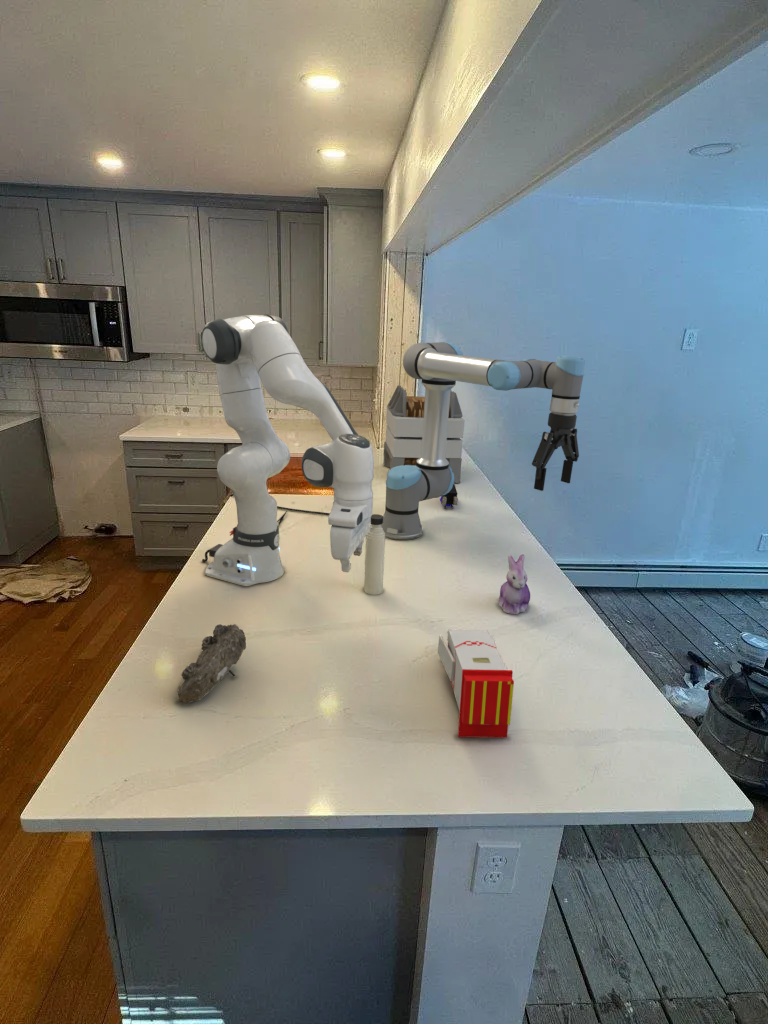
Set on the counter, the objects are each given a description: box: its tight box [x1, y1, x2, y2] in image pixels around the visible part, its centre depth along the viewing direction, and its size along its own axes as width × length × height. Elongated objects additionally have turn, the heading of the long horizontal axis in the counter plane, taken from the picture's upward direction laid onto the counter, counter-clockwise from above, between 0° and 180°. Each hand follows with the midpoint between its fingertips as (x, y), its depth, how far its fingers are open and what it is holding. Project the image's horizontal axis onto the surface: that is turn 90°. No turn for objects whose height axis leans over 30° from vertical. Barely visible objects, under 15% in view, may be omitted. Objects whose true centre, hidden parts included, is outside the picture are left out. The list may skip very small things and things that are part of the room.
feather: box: [277, 510, 288, 528], centre depth 213 cm, size 2×28×2 cm
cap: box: [371, 513, 383, 525], centre depth 152 cm, size 4×4×2 cm
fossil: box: [176, 623, 247, 704], centre depth 119 cm, size 22×10×15 cm
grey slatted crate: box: [383, 384, 465, 484], centre depth 268 cm, size 34×33×41 cm
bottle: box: [363, 524, 386, 596], centre depth 156 cm, size 5×5×22 cm
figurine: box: [498, 553, 531, 615], centre depth 151 cm, size 9×10×15 cm
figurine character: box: [439, 483, 459, 510], centre depth 230 cm, size 7×8×15 cm
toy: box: [437, 628, 515, 738], centre depth 117 cm, size 12×13×30 cm
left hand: (352, 562), depth 133 cm, fingers open, 8 cm apart
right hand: (552, 485), depth 166 cm, fingers open, 13 cm apart
